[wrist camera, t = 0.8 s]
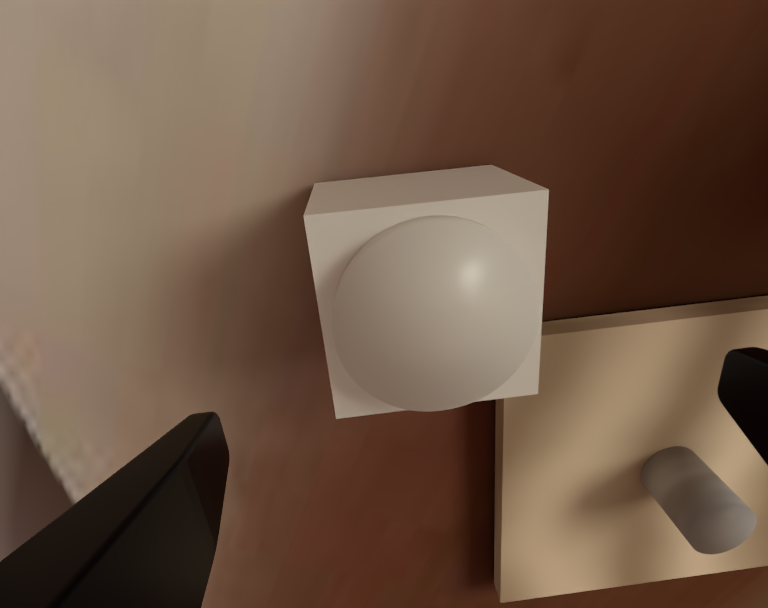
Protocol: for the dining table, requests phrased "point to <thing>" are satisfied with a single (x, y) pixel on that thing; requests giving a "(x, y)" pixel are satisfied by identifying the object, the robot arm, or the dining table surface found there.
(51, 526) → the robot arm
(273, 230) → the dining table surface
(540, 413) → the stud plate
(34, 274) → the dining table surface
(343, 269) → the white domed square block
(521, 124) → the dining table surface
